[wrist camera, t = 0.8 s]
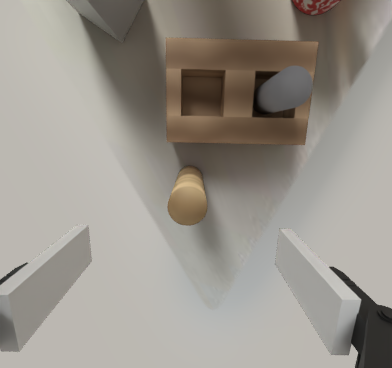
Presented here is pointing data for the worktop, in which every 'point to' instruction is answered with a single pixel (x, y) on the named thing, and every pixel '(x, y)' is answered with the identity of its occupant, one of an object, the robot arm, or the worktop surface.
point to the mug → (315, 6)
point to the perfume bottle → (109, 14)
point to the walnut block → (232, 90)
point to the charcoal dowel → (283, 91)
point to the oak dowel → (188, 197)
